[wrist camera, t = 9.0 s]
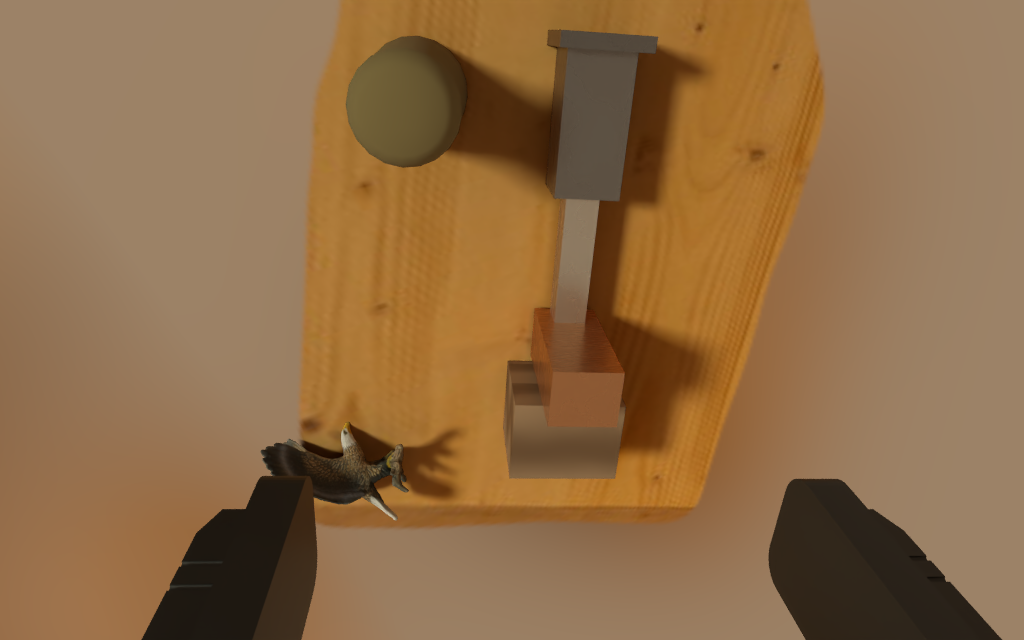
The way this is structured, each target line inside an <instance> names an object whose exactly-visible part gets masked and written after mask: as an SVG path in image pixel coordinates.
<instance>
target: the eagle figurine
mask: <svg viewBox="0 0 1024 640" xmlns="http://www.w3.org/2000/svg"><path fill="white" fill-rule="evenodd" d="M341 442H342V447H343V454H344V455H343V456H342V457H340V458H334V459H329V458H325V457H322V456H319V455H317V454H315V453H312V452H309V451H308V450H306V449H305V448H303V447H302V446H300V445H299V444H298V443H296V442H295V441H292V440H291V439H288V440H287V443H283V444H282V443H275V444H274V447H273V446H268V447H266V449H265V450H261V454H262V455H263V456H264V458H263V459H262V461H263V462H264V463H265V464H266V468H267V469H268V470H270V471H271V475H273V476H310V478H311V480H312V485H313V497H314V498H318V499H319V500H323V501H328V502H331V503H336V504H350V503H352V502H354V501H356V500H358V499H360V498H361V497H363V498H364V499H365V500H367V501H369V502H371V503H372V504H374V505H376V506H377V507H378V508H380V509H381V510H382V511H384V512H385V513H386V514H388V515H389V516H390V517H392V518H393V519H394V520H397V519H398V517H397V515H396V514H395V513H394V512H393V511H392V510H391V509H390V508H389V507H388V506H387V505H385V504H384V501H383V500H382V498H381V496H380V494H379V493H378V492H377V490H376V488H375V486H374V483H375V482H377V481H378V480H380V479H381V478H384V477H386V476H388V475H393V477H392V484H393V486H395V487H397V488H398V489H400V490H401V491H403V492H408V491H409V490H408V489H407V488H405V487H404V486H403V485H402V483H401V480H402V481H403V482H406V479H407V478H406V476H405V475H404V474H403V469H402V460H403V445H402V444H399V445H396V448H395V450H392V451H391V452H389V453H388V454H387V455H386V456H385V457H383V458H381V459H380V460H376V461H373V462H367V461H366V458H365V456H364V453H363V451H362V449H361V447H360V446H359V445H358V444H357V442H356V441H355V439H354V437H353V435H352V432H351V430H350V422H346V423H345V425H344V428H343V430H342V433H341Z"/></svg>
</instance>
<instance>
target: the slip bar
mask: <svg viewBox="0 0 1024 640" xmlns="http://www.w3.org/2000/svg"><path fill="white" fill-rule="evenodd" d="M599 201H600V200H580V199H561V201H560V211H559V222H558V232H557V243H556V253H555V264H554V274H553V285H552V295H551V306H550V309H544V308H535V311H534V323H533V334H532V346H531V358H532V362H533V367H534V371H535V375H536V379H537V383H538V388H539V392H540V396H541V400H542V405H543V409H544V413H545V417H546V422H547V426H548V427H617V423H618V416H619V410H620V403H621V396H622V390H623V383H624V376H625V372H624V370H623V368H622V366H621V364H620V362H619V360H618V358H617V356H616V354H615V352H614V350H613V348H612V346H611V344H610V342H609V340H608V338H607V336H606V334H605V332H604V330H603V328H602V326H601V324H600V322H599V320H598V318H597V316H596V314H595V312H594V310H587V302H588V294H589V285H590V277H591V269H592V260H593V252H594V243H595V235H596V227H597V218H598V210H599Z"/></svg>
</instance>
